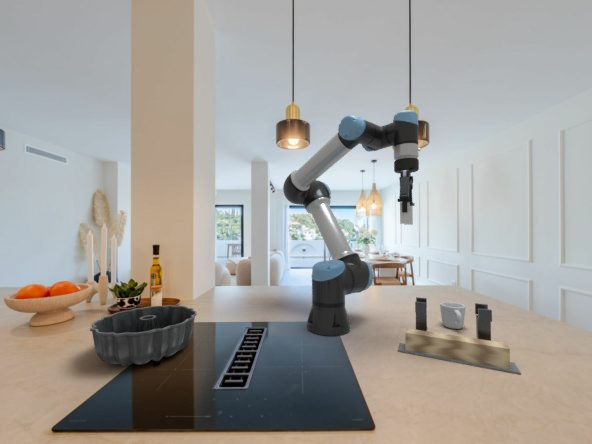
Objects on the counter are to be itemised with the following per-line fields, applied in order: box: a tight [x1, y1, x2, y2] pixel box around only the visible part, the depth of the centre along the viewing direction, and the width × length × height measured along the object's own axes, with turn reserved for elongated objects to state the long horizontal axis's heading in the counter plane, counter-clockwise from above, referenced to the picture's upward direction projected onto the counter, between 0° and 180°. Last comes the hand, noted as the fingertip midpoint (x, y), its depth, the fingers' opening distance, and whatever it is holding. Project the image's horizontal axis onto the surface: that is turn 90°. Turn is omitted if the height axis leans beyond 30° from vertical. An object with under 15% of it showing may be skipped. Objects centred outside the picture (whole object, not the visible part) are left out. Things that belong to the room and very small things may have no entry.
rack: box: [414, 296, 493, 341], centre depth 80 cm, size 22×7×13 cm, turn 64°
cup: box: [439, 301, 466, 330], centre depth 97 cm, size 11×8×8 cm
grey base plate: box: [397, 342, 522, 375], centre depth 74 cm, size 28×6×1 cm, turn 64°
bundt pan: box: [89, 304, 198, 367], centre depth 78 cm, size 26×26×10 cm
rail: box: [404, 327, 511, 369], centre depth 74 cm, size 24×4×5 cm, turn 64°
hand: (406, 224), depth 89 cm, fingers open, 13 cm apart
